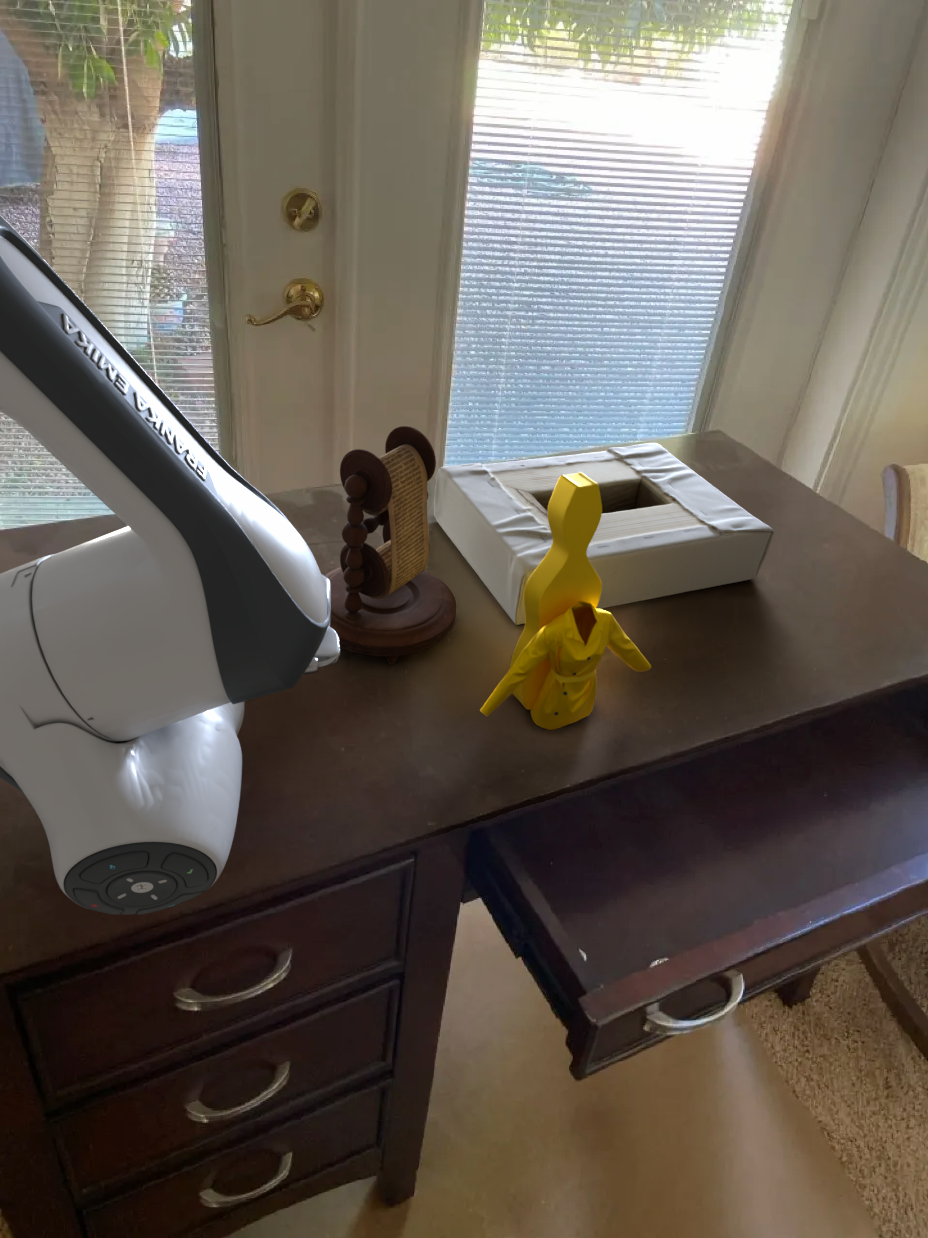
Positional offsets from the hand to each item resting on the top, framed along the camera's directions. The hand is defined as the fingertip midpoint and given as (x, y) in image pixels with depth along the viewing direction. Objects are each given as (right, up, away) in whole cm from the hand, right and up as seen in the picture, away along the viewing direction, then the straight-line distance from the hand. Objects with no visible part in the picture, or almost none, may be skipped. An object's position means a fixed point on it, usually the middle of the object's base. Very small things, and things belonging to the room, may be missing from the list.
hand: (189, 555), depth 66 cm
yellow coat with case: (+28, -13, +16) cm, 35 cm away
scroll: (+12, -5, +24) cm, 27 cm away
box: (+35, +3, +39) cm, 53 cm away
